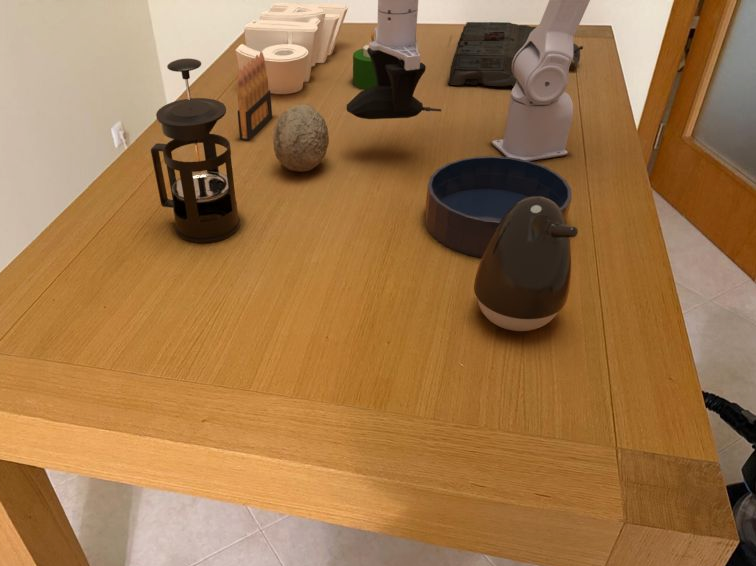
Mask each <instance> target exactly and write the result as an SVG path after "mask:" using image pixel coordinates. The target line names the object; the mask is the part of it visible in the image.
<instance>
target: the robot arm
mask: <svg viewBox="0 0 756 566" xmlns="http://www.w3.org/2000/svg"><path fill="white" fill-rule="evenodd" d="M590 1H591V0H548V2H547V5H546V7H545V10H544V12H543V15H542V17H541V20H540V21H539V23H538V25H537V26H535V27H536V28H535V29H534V30H533V31H532V32H531V33H530V35H529V37H528V39H527V41H526V43H525V44H524V46H523V47H522V48H521V49H520V50H519V51H518V52H517V53H516V55H515V57H514V59H513V61H512V73H513V75H514V77H515V78H516V84H515V86H513V88H512V89H511V92H510V97H509V103H508V109H507V116H506V120H505V127H504V133H503V138H501V139H496V140H495V139H494V140H492V143H491V145H492V146H494V147H495V148H496V149H497V150H498V151H499V152H500V153H501V154H502V155H504V157H511V158H516V159H521V160H526V161H530V162H533V161H537V160H544V159H550V158H556V157H563V156H567V155H568V151H567V150H566V147H567V144H568V139H569V134H570V131H571V127H572V122H573V118H574V104H573V100H572V98H571V96H570V95H569V94H568V93H567V92H565V91H566V90H567V87H568V84H569V78H570V77H569V70H570V66H571V64H572V61H573V43H574V38H575V35H576V34H577V31H578V28H579V26H580V24H581V22H582V19H583V18H584V14H585V13H586V11H587V8H588V6H589V4H590ZM418 12H419V0H377V25H376V27H374V29H373V30H374V41H373V42H372V41H369V42H368V43H369V48H368V49H367V52H368V54H369V56H370V58H371V61H372V63H373V67H374V70H375V75H376V81H377V86H390V87H391V88H392V100H393V108H394V111H395V112H403V111H408V109H409V106H410V103H411V100H412V97H414V94H415V91H416V88H417V85H418V83H419V82H420V80H421V78H422V76H423V75H424V73H426V68H427V66H426V65H425V64H424V63H423V62H421V54H420V53H419V48H418V39H417V26H418Z"/></svg>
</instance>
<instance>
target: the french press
mask: <svg viewBox="0 0 756 566" xmlns="http://www.w3.org/2000/svg"><path fill="white" fill-rule="evenodd" d="M201 66H202V62H201V60H199V59H196V58H180V59H176V60H172V61H171V62H169V63H168V64H167V65H166V68H167V70H169V71H171V72H176V73H181V77H182V78H181V79H182V80H184V82H185V87H186V89H185V90H186V96H187V98H183V99H179V100H176V101H175V100H174V101H172V102H169V103H166V104H165V105H163V106H161V107H160V108H159V109H158V110H157V111H156V113H155V117H156V120H157V122H158V123H160V124H161V130H162V133H163V135H164V136H165V137H167V138H169V139H171V140H170V141H168V142H167V143H160V142H157V143H155V144H154V145H153V146H152V147H151V149H150V154H151V159H152V164H153V169H154V174H155V179H156V185H157V190H158V195H159V200H160V206H161V207H163V208H172V209H173V210H172V211H173V215H174V221H175V225H174V230H175V233H176V234H177V236H178V237H179V238H181V239H182V240H184V241H187V242H190V243H193V244H194V243H195V244H209V243H210V244H212V243H217V242H220V241H223V240H226V239H228V238H230V237H232V236H233V235H235V233H237V232H238V230H239V229H240V227H241V219H240V215H239V211H238V203H237V197H236V190H235V189H236V188H235V181H234V172H233V164H232V149H231V143H230V141H229V140H228V138H226V137H224V136H222V135H221V134H220V135H219V134H216V133H211V132H212V130H214V127H215V126H216V124H217V122H218V121H219V120H221V119H222V118H223V117H225V115H226V114H227V107H226V105H225V104H224V103H223V102H221V101H219V100H216V99H212V98H206V97H192V98H191V91H190V85H189V84H190V83H189V79H190V78H191V76H190V71H194V70H197V69H199V68H200V67H201ZM198 144H203V145H202V147H203V153H204V160H200V153H199V147H198ZM188 145H194V149H195V157H196V161H183V160H176V159H173V154H172V152H173V151H175V150H176V149H178V148H179V149H180V148H181V147H185V146H188ZM216 145H219V146H222V147H223V148H225V149H226V150H224V152H222V153H221V154H219V155H217V147H216ZM160 152H162V155H163V160H164V164H165V165H166V171H167V175H168V181H169V186H170V193H171V198H172V199H170V198H168V193H167V187H166V182H165V176H164V172H163V166H162V161H161V155H160ZM224 164H225V172H226V173H225V174H224V173H221V172H220V171H219V167H220V166H223V165H224ZM176 171H178V173H179V177H180V178H178V179H177V177H176ZM205 213H218V214H222V216H220V217H218V218H213V219H209V220H201V219H200V214H205Z"/></svg>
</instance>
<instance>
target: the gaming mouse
mask: <svg viewBox="0 0 756 566" xmlns="http://www.w3.org/2000/svg"><path fill="white" fill-rule="evenodd" d="M345 109H346V111H347V112H348V113H350V114H351V115H353V116H354V117H356V118H359V119H364V120H386V119H387V120H388V119H389V120H391V119H409V118H413V117H416V116H418V115H419V114H420V113H421V112H423V111H424V112H430V111H431V112H442V108H436V107H435V108H434V107H433V108H432V107H431V106H424V104H423V103H422V102H421V101H420V100H418V99H417V98H416V97H415V96H413V97H412V100H411V103H410V106H409V109H408V111H403V112H395V111H394V108H393V100H392V88H391V87H390V86H373V87H371V88H368V89H362V90H361V91H360V92H359V93H358V94H356V95H355V97H353V98H352V99H351V100H350V101H349V102H348V103H347V104H346V108H345Z"/></svg>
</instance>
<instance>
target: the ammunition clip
mask: <svg viewBox="0 0 756 566" xmlns="http://www.w3.org/2000/svg"><path fill="white" fill-rule="evenodd" d="M237 101H238V102H237V104H238V110H237V121H238V132H239V140H242V141H251V140H252V139H253V138H254V137H255V136H256V135H257V134H258V133H259V132H260V131H261V130H262V129H263V128H264V127H265V126H266V125H267V124H268V123H269V122H270V121H271V120H272V119H273V108H272V98H271V93H270V90H268V77H267V73H266V65H265V59H264V55H263V53H262V52H260V55H259V57H258V55H256V58H255V60H254V59H253V58H252V61H251V64H250V62H248V63H247V68H246V66H245V65H244V66H243V70H241V69H240V68H239V69H238V73H237Z"/></svg>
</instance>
